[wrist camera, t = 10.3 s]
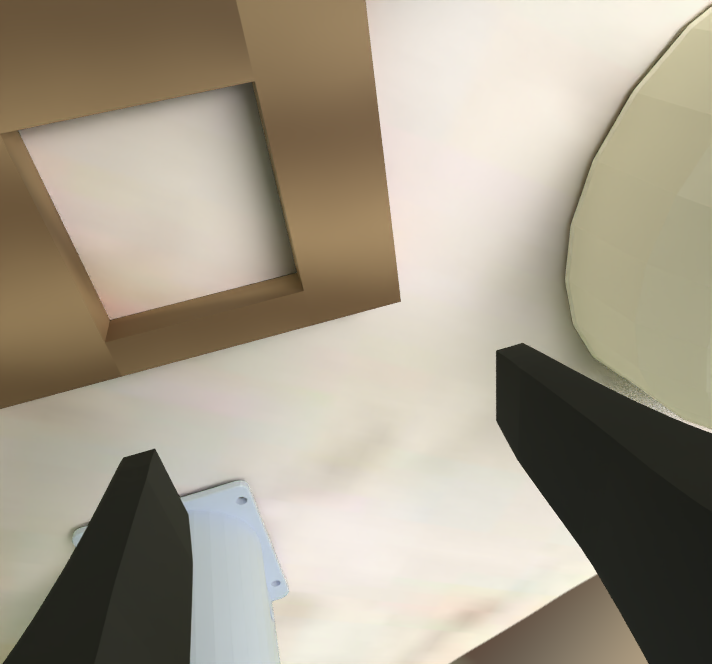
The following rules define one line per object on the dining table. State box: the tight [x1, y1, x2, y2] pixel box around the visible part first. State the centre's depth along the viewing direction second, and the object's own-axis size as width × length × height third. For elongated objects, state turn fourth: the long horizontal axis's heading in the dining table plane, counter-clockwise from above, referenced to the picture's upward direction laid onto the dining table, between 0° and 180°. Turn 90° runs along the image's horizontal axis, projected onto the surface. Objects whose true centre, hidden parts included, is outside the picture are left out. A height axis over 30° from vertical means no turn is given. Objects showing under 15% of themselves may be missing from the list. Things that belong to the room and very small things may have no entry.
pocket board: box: [0, 0, 401, 409], centre depth 17 cm, size 12×16×2 cm
